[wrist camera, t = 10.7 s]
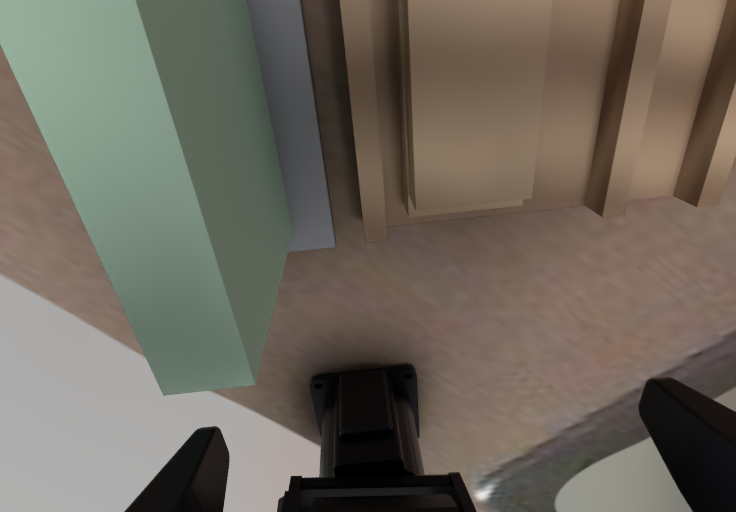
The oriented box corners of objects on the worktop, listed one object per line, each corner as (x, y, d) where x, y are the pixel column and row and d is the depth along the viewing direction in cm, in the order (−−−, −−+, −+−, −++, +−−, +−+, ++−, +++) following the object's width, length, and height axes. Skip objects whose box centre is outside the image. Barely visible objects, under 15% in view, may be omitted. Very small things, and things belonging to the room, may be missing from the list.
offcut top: (517, 186, 18) (531, 198, 16) (410, 197, 17) (416, 211, 16) (540, -81, 13) (562, -94, 12) (398, -67, 13) (404, -78, 12)
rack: (678, 186, 21) (718, 204, 18) (363, 220, 21) (365, 242, 18) (767, -128, 15) (840, -156, 13) (330, -83, 15) (328, -104, 13)
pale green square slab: (293, 231, 20) (255, 385, 11) (242, 237, 20) (163, 395, 11) (244, -13, 15) (111, -79, 6) (177, -6, 15) (-49, -63, 6)
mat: (335, 241, 21) (335, 246, 20) (209, 255, 21) (205, 261, 20) (294, -45, 15) (292, -48, 15) (120, -28, 15) (112, -30, 15)
